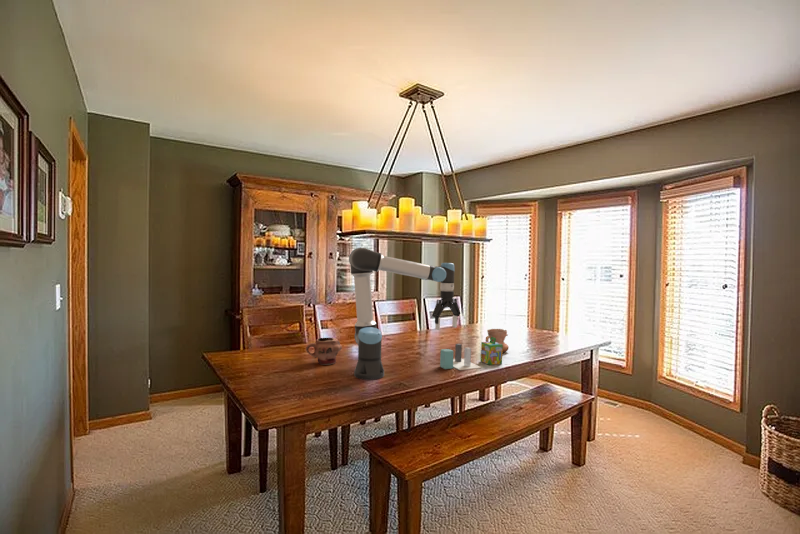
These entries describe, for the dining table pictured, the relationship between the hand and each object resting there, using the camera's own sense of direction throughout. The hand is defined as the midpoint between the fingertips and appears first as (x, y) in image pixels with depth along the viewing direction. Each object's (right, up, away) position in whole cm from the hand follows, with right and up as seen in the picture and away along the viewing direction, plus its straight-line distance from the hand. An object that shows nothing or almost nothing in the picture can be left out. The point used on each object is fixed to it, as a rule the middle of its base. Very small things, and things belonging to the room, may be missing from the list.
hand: (446, 328), depth 230 cm
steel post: (+12, -21, -1) cm, 24 cm away
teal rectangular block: (0, -21, -4) cm, 21 cm away
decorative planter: (-68, -20, -1) cm, 71 cm away
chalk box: (+27, -22, +9) cm, 36 cm away
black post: (+8, -21, +8) cm, 24 cm away
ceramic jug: (+36, -21, +36) cm, 55 cm away
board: (+9, -21, +3) cm, 23 cm away
